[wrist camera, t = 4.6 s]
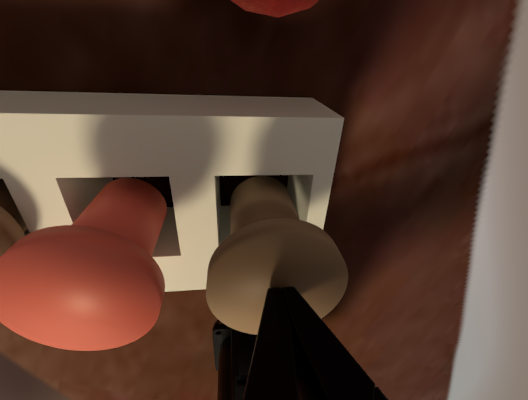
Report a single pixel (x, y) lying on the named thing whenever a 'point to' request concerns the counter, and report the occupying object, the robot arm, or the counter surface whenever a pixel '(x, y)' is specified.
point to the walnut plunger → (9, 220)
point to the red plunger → (89, 273)
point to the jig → (164, 159)
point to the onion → (275, 6)
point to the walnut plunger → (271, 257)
